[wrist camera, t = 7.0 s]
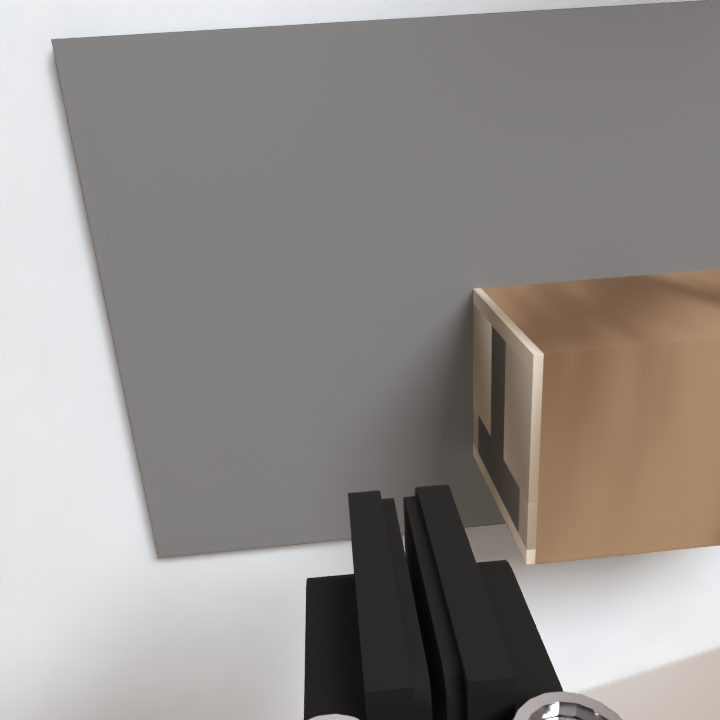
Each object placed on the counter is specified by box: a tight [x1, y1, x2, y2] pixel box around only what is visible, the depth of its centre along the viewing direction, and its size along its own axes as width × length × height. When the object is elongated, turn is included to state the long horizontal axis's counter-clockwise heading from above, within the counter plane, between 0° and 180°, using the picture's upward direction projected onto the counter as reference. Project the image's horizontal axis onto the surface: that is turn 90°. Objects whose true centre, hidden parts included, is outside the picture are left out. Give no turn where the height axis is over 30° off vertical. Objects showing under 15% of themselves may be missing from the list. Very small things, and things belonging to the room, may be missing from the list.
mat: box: [51, 0, 720, 558], centre depth 18 cm, size 20×14×1 cm
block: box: [473, 269, 720, 565], centre depth 16 cm, size 5×5×9 cm
